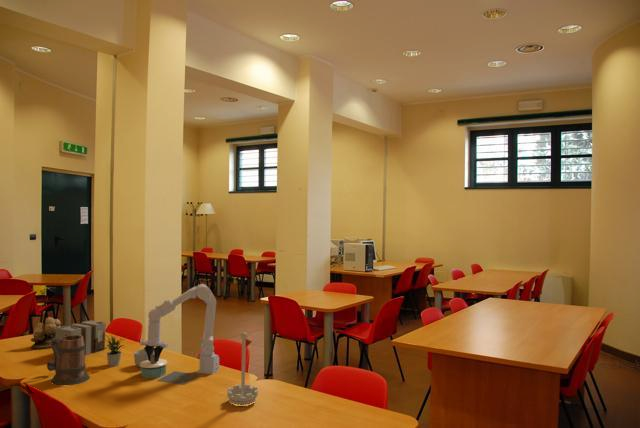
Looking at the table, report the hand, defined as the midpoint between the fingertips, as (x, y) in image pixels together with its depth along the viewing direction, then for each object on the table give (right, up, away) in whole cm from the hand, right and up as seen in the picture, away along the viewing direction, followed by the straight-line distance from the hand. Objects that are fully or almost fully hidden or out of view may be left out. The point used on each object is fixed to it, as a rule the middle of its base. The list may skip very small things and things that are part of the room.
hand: (153, 361), depth 242 cm
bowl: (0, -7, 0) cm, 7 cm away
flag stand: (+49, -9, -31) cm, 58 cm away
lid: (0, -1, 0) cm, 1 cm away
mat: (+14, -7, -4) cm, 16 cm away
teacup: (-9, -7, +15) cm, 19 cm away
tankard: (-39, -6, -8) cm, 41 cm away
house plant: (-27, -6, +14) cm, 31 cm away
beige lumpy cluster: (-77, -5, +45) cm, 90 cm away
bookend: (-52, -6, +33) cm, 62 cm away
